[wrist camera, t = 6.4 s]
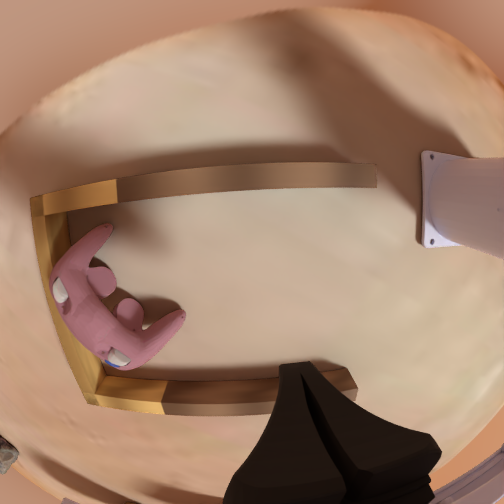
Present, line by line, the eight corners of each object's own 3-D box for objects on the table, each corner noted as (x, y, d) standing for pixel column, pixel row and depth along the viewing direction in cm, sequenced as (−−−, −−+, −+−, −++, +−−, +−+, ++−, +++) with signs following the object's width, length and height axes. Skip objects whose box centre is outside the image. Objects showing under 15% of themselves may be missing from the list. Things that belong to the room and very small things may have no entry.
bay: (357, 167, 18) (375, 164, 15) (345, 380, 22) (355, 400, 19) (52, 195, 17) (29, 198, 14) (99, 385, 22) (87, 403, 19)
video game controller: (91, 242, 20) (30, 287, 14) (109, 212, 18) (35, 260, 12) (166, 330, 22) (120, 389, 16) (196, 315, 20) (145, 386, 14)
